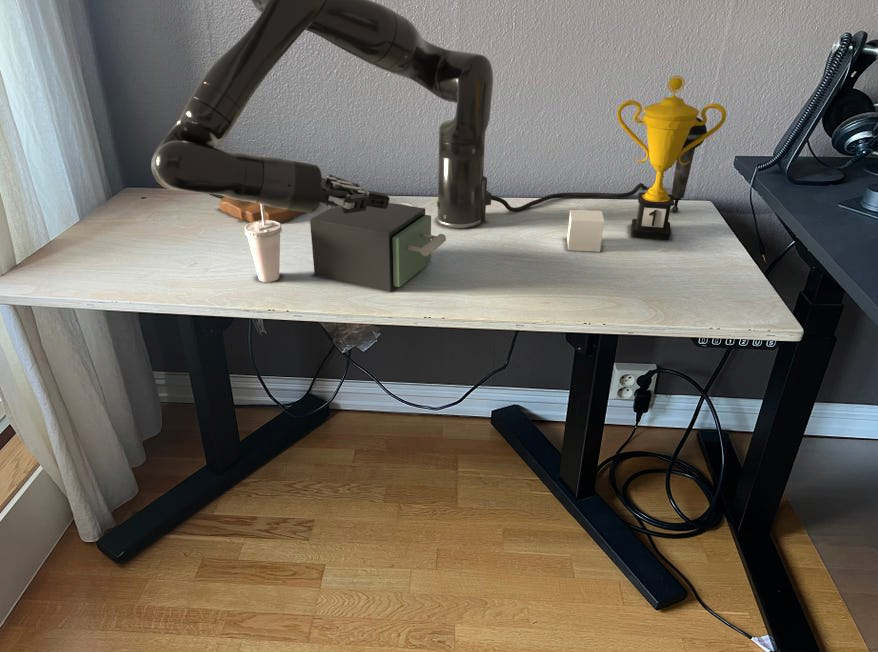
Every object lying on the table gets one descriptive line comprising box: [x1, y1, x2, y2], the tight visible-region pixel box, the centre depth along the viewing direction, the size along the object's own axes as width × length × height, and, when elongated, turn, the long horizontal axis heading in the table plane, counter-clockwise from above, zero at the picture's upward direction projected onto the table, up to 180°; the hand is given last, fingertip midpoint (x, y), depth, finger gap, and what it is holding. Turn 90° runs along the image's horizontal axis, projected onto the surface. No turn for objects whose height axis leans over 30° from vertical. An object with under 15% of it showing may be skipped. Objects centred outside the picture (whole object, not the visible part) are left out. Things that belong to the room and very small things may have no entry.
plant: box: [218, 196, 305, 224], centre depth 159 cm, size 20×20×11 cm
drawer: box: [391, 214, 447, 288], centre depth 126 cm, size 19×12×9 cm, turn 62°
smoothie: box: [244, 204, 283, 283], centre depth 125 cm, size 6×6×14 cm
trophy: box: [616, 75, 727, 241], centre depth 137 cm, size 19×10×30 cm, turn 74°
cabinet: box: [309, 202, 426, 292], centre depth 128 cm, size 16×14×11 cm
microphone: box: [670, 116, 708, 213], centre depth 150 cm, size 7×7×20 cm
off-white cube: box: [566, 209, 605, 253], centre depth 138 cm, size 6×6×6 cm
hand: (386, 201), depth 119 cm, fingers closed
